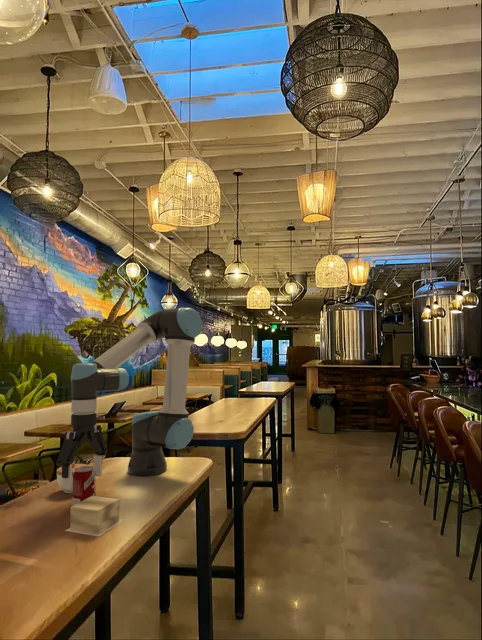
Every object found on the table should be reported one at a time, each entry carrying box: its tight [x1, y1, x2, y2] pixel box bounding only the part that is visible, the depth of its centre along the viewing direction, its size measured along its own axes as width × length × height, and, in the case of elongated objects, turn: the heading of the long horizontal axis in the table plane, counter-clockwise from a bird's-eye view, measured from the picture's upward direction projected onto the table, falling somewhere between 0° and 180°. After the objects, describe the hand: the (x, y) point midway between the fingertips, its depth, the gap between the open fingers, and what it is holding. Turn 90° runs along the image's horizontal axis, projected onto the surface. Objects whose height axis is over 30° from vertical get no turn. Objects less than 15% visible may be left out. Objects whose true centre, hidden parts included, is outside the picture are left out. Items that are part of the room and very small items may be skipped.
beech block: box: [69, 495, 120, 534], centre depth 121 cm, size 9×9×6 cm
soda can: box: [72, 465, 97, 506], centre depth 137 cm, size 7×7×12 cm
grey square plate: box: [64, 518, 125, 537], centre depth 122 cm, size 14×14×1 cm
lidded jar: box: [56, 462, 90, 494], centre depth 154 cm, size 11×11×9 cm
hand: (83, 482), depth 137 cm, fingers open, 13 cm apart
